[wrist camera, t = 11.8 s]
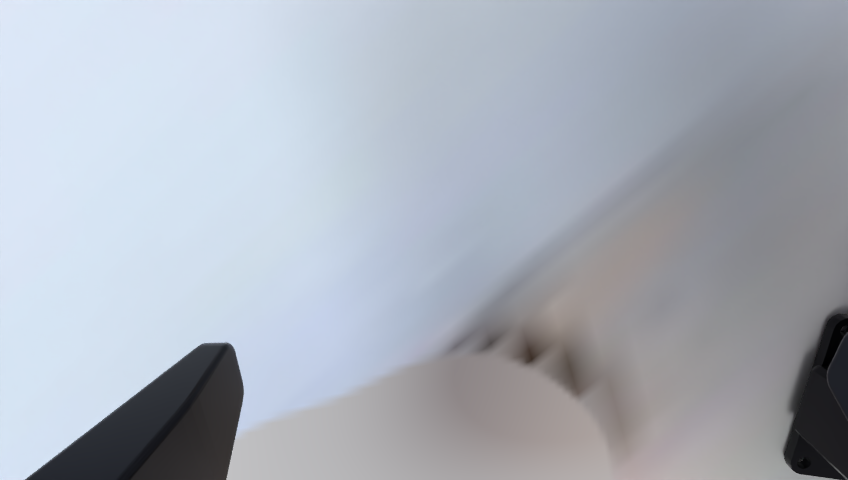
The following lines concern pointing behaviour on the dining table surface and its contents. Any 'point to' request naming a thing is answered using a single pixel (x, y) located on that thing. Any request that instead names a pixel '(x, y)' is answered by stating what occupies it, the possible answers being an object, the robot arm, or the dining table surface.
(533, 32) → the dining table surface
